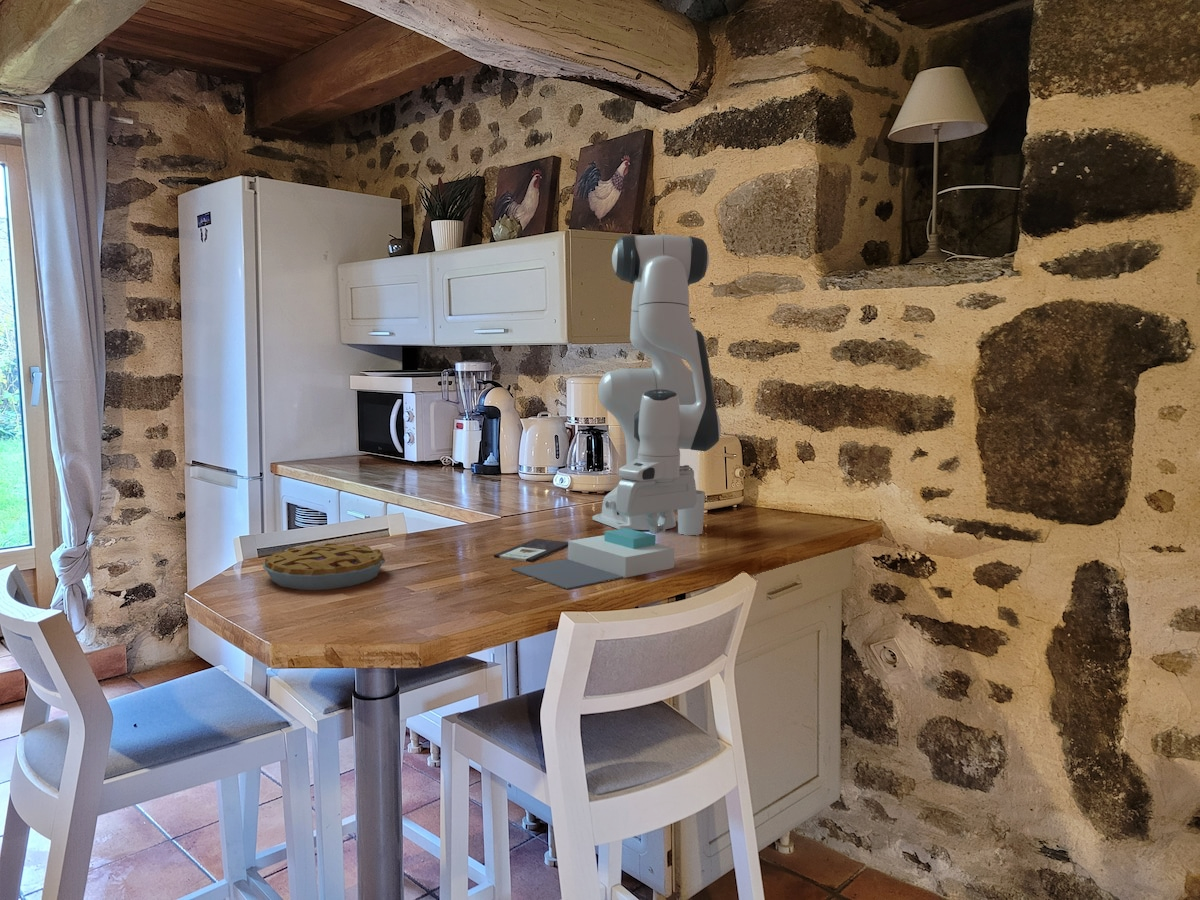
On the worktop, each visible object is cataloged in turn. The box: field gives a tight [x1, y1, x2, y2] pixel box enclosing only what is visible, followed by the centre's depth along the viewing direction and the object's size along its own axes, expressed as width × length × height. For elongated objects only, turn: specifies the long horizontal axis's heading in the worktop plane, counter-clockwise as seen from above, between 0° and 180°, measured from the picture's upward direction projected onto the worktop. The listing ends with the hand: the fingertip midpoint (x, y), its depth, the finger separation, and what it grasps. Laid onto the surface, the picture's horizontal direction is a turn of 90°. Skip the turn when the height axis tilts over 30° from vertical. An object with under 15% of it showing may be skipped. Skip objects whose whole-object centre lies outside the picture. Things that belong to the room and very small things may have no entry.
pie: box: [262, 543, 386, 591], centre depth 166 cm, size 22×22×5 cm
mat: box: [511, 558, 624, 590], centre depth 171 cm, size 18×14×1 cm
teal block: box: [604, 528, 657, 549], centre depth 181 cm, size 9×6×2 cm, turn 40°
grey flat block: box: [567, 534, 675, 578], centre depth 179 cm, size 18×13×4 cm
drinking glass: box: [677, 489, 706, 536], centre depth 210 cm, size 7×7×10 cm
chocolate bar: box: [493, 538, 568, 563], centre depth 190 cm, size 9×1×18 cm
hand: (657, 532), depth 185 cm, fingers closed
